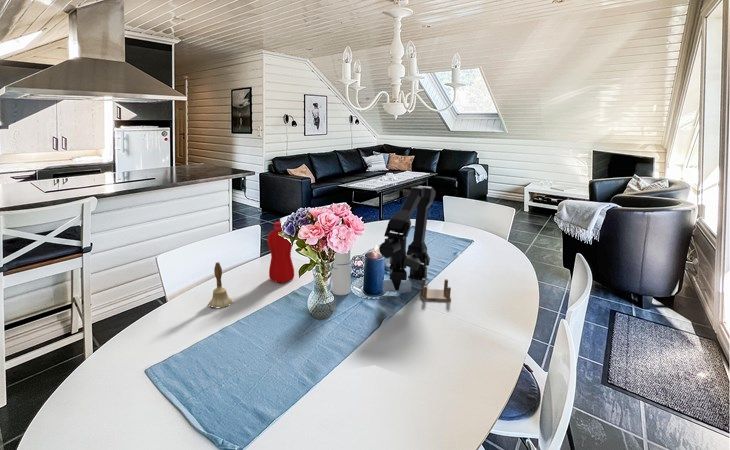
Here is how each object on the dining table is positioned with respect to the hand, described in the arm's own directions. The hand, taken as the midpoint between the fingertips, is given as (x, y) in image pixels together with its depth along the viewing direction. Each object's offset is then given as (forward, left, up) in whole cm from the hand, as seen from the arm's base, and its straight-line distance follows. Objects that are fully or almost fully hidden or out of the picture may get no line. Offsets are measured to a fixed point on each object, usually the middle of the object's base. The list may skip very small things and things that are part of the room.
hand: (396, 287), depth 150 cm
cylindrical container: (-20, -9, -3) cm, 22 cm away
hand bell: (-52, -41, -3) cm, 66 cm away
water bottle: (-48, -12, -3) cm, 49 cm away
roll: (0, 0, -2) cm, 2 cm away
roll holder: (+13, +7, -3) cm, 15 cm away
